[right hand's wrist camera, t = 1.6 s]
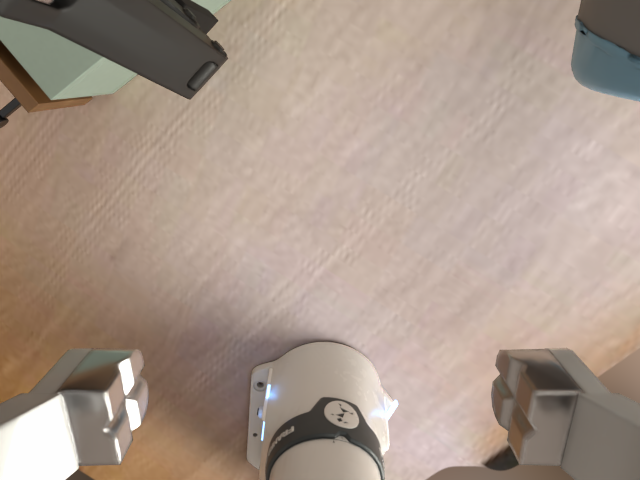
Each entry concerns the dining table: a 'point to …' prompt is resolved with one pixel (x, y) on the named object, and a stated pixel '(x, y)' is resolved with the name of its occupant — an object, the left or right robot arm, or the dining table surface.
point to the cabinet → (68, 60)
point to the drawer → (27, 89)
